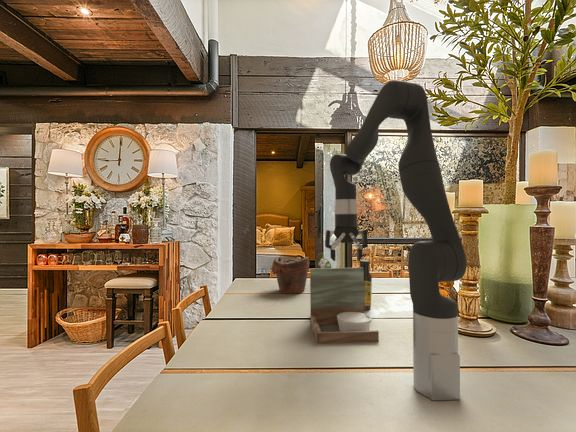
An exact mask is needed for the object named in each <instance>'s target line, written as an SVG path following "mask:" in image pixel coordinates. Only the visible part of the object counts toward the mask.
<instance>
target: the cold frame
mask: <svg viewBox="0 0 576 432" xmlns="http://www.w3.org/2000/svg"><path fill="white" fill-rule="evenodd" d="M309 273H310V274H309V278H310V279H309V281H310V282H309V283H310V284H309V287H310V288H309V290H310V291H309V293H310V294H309V295H310V297H309V298H310V303H309V304H310V309H309V310H310V327H311V329H312V332H313V335H314V337H315V340H316V344H329V343H330V344H335V343H363V342H364V343H365V342H379V340H380V339H379V338H380V337H379V332H380V331H379V330H369V331H341V332H340V331H321V328H320V326H339V325H338V320H337V315H338V314H340V313H344V312H359V313H364V314H365V310H364V268H360V267H331V268H321V267H320V268H318V267H317V268H309Z"/></svg>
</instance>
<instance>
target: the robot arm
mask: <svg viewBox="0 0 576 432" xmlns="http://www.w3.org/2000/svg"><path fill="white" fill-rule="evenodd" d="M427 97H428V96H427V93H426V90H425V89H424V87H423V86H422V85H420V84H419V83H416V82H410V81H404V80H397V79H391V80H389V81H387V82H386V83H385V84H384V85H383V86H382V87H381V89H380V90H379V92H378V94H377V95H376V97H375V99H374V101H373V103H372V105H371V106H370V108H369V111H367V112H368V113H367V114H366V117H365V119H364V120H363V123H362V125H361V127H360V128H359V130H358V131H357V133H356V134H355V135H354V136H353V138H352V139H351V141H350V142H349V143H348V144H347V146H346V149H345V154H344V153H336V154H333V155H332V157H331V158H330V160H329V161H330V162H329V169H330V173H331V177H332V179H333V185H334V189H335V190H334V191H335V193H334V194H335V195H334V196H335V201H334V230H329V229H327V230H325V241H324V247H325V248H327V249H329V251H330V253H329V254H330V255H329V256H330V259H331V260H332V262H335V261H336V248H337V246H338V245H340V243H341V244H346V243H348V244H351V243H353V244H354V245H355V246H356V260H357V261H358V262H360V260H363V250H364V249H365V248H368V246H369V242H368V230H366V229H362V230H359V229H358V204H357V203H358V202H357V185H356V183H354V182H352V181H348V180H347V178H346V176H355V175H357V174H359V172H360V171H361V170H362V169H363V168H362V167H363V166H364V165H363V164H364V162H365V160H366V158H367V157H368V156H369V154H371V153H372V152H373V151H374V149H375V147H377V144H378V142H379V127H380V126H381V124H382V123H383V122H384V121H385V120H386V119H388V118H389V119H397V120H403V121H404V124H405V126H406V131H407V140H406V143H405V146H404V149H403V151H402V153H401V156H400V158H399V162H398V166H397V167H398V173H399V179H400V183H401V188H402V191H403V193H404V195H405V197H406V198H407V200H408V201H409V203H410V204H411V205H412V206H413V207H414V208H415V210H416V211H417V212H418V213H419V214H420V216H421V217H422V218H423V219H424V221H425V223H426V225H427V227H428V230H429V233H430V236H431V240H423V241H416V242H415V243H413V244H412V246H411V247H410V250H409V252H408V264H407V265H408V279H409V294H410V299H411V302H412V332H413V333H412V345H413V346H412V348H413V349H412V350H413V352H412V355H413V357H412V359H413V360H412V362H413V363H412V364H413V366H412V367H413V368H412V369H413V371H412V373H413V388H414V389H415V390H416V391H417V392H418V393H419V394H421V395H422V396H425V397H428V398H429V399H430V400H431V401H449V400H450V401H453V400H461V364H460V363H461V358H460V357H461V356H460V354H459V306H458V302H457V301H456V300H454V299H453V298H451V297H447V296H444V295H442V294H441V292H440V285H439V283H446V282H455V281H459V280H461V279H462V278H464V276H465V274H466V271H467V256H466V253H465V252H466V251H465V249H464V245H463V242H462V241H461V240H462V239H461V237H460V235H459V231H458V229H457V226H456V224H455V221H454V218H453V215H452V211H451V208H450V205H449V201H448V198H447V197H448V196H447V193H446V189H445V186H444V185H445V184H444V180H443V175H442V170H441V166H440V163H439V159H438V156H437V151H436V148H435V144H434V143H435V141H434V138H433V133H432V128H431V121H430V120H431V119H430V112H429V111H430V110H429V103H428V102H429V101H428V98H427ZM333 235H334V236H335V237H336V238H335V239H334V240H333V242H332V244H331V242H330V241H331V237H332V236H333ZM358 236H360V237H361V240H362V241H361V242H362V244H361V243H360V241H359V240H358V238H357V237H358Z"/></svg>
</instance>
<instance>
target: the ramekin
mask: <svg viewBox="0 0 576 432" xmlns="http://www.w3.org/2000/svg"><path fill="white" fill-rule="evenodd" d="M337 320H338V325H337V326H338V329H339V332H341V331H370V327H371V322H372V317H371V316H370V315H369V314H366V313H365V312H364V313H359V312H344V313H340V314H338V315H337Z"/></svg>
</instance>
